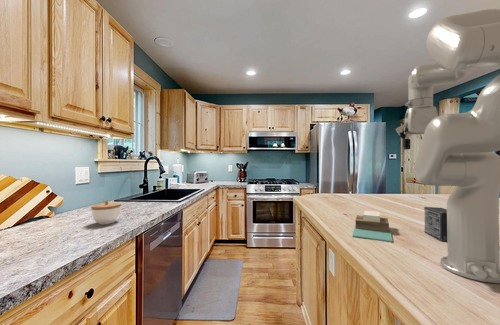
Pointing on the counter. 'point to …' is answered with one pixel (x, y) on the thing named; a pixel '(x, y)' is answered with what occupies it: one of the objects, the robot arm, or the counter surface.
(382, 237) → the teal mat
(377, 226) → the walnut riser
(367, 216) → the cream tile
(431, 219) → the small box
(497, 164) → the robot arm
